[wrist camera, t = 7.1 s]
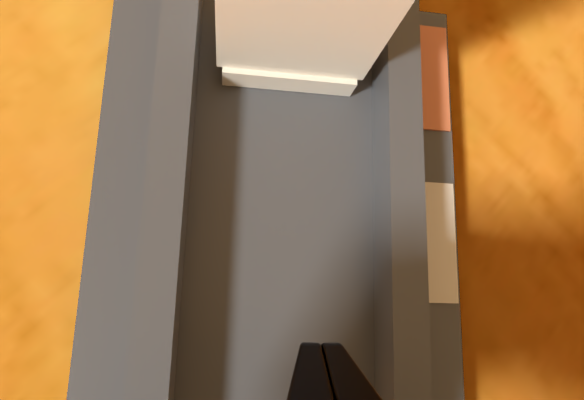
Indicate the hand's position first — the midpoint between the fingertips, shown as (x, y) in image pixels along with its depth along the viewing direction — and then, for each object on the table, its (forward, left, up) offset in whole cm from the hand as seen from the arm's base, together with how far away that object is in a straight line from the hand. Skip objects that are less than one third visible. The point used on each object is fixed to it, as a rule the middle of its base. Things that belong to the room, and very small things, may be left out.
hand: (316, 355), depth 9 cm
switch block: (+5, +1, -7) cm, 9 cm away
